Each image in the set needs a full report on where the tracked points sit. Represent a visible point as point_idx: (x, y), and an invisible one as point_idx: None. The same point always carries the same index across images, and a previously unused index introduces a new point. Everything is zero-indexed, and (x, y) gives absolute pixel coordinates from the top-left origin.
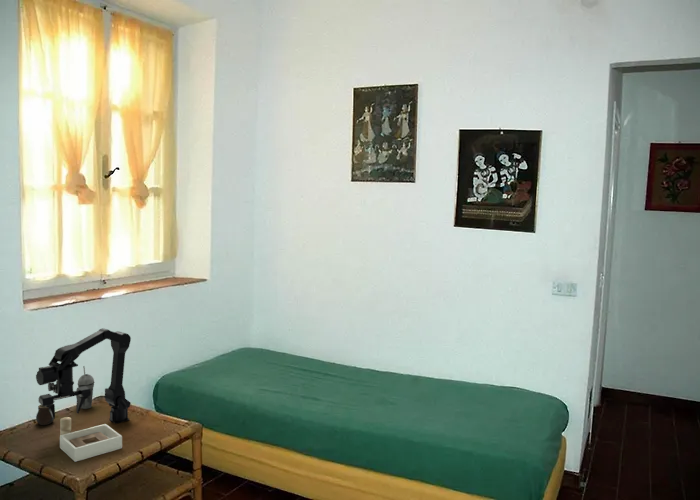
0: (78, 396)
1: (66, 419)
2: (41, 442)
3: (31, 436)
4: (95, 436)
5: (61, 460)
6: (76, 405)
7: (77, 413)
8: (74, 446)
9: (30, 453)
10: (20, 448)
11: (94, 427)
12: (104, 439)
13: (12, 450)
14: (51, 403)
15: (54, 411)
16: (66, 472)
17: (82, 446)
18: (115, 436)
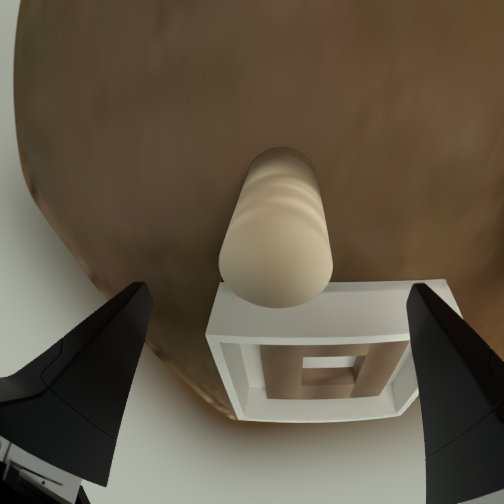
0: (482, 496)
1: (278, 283)
2: (140, 165)
3: (100, 44)
4: (369, 353)
5: (209, 359)
6: (452, 349)
7: (406, 302)
8: (242, 413)
9: (104, 260)
10: (61, 187)
11: (405, 339)
12: (372, 381)
13: (41, 191)
14: (78, 492)
15: (122, 402)
16: (212, 398)
17: (265, 420)
18: (405, 389)
